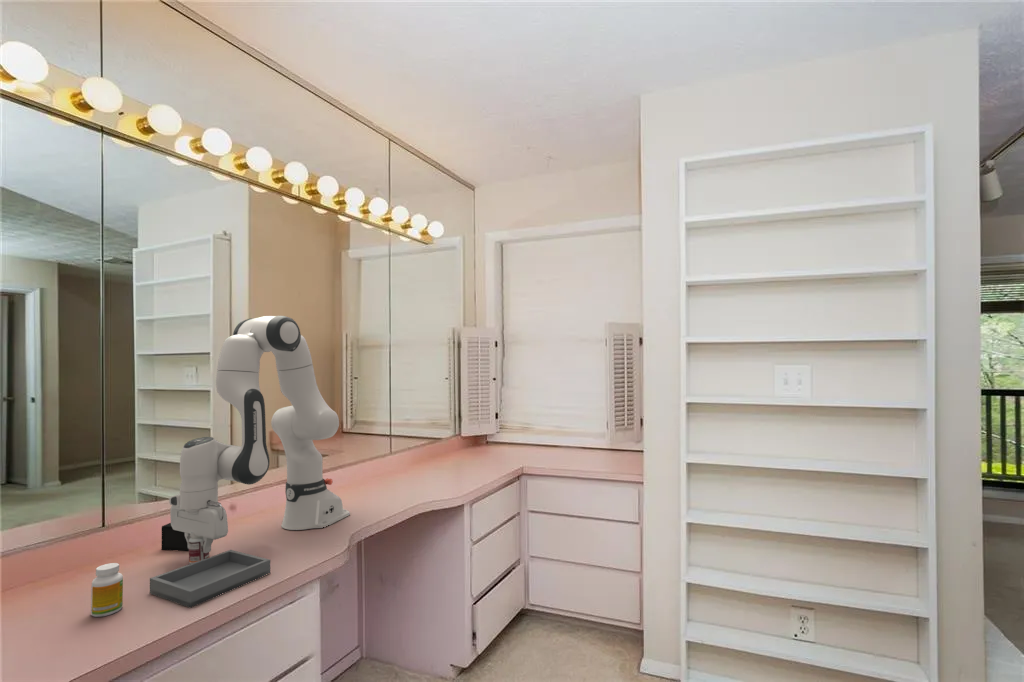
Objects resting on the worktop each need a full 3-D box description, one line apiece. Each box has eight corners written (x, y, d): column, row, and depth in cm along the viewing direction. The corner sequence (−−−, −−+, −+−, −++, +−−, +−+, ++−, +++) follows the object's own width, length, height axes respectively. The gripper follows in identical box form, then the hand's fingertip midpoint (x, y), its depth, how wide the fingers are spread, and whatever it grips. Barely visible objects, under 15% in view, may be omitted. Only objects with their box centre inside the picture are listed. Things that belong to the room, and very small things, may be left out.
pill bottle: (205, 556, 141) (205, 525, 141) (212, 560, 138) (212, 529, 138) (185, 562, 137) (185, 530, 138) (192, 566, 134) (192, 534, 135)
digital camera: (207, 544, 151) (207, 521, 152) (193, 551, 146) (193, 527, 146) (176, 543, 153) (176, 519, 153) (161, 550, 148) (161, 525, 148)
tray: (230, 562, 137) (230, 549, 137) (270, 573, 130) (270, 559, 130) (149, 593, 120) (149, 578, 120) (190, 607, 112) (190, 591, 112)
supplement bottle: (125, 610, 111) (125, 565, 112) (93, 620, 107) (94, 573, 108) (119, 603, 115) (120, 559, 115) (88, 612, 111) (89, 566, 111)
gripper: (234, 500, 136) (234, 552, 136) (188, 491, 146) (189, 540, 145) (211, 506, 131) (211, 561, 130) (165, 497, 140) (165, 548, 140)
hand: (199, 550), depth 138 cm, fingers closed on pill bottle, 5 cm apart
